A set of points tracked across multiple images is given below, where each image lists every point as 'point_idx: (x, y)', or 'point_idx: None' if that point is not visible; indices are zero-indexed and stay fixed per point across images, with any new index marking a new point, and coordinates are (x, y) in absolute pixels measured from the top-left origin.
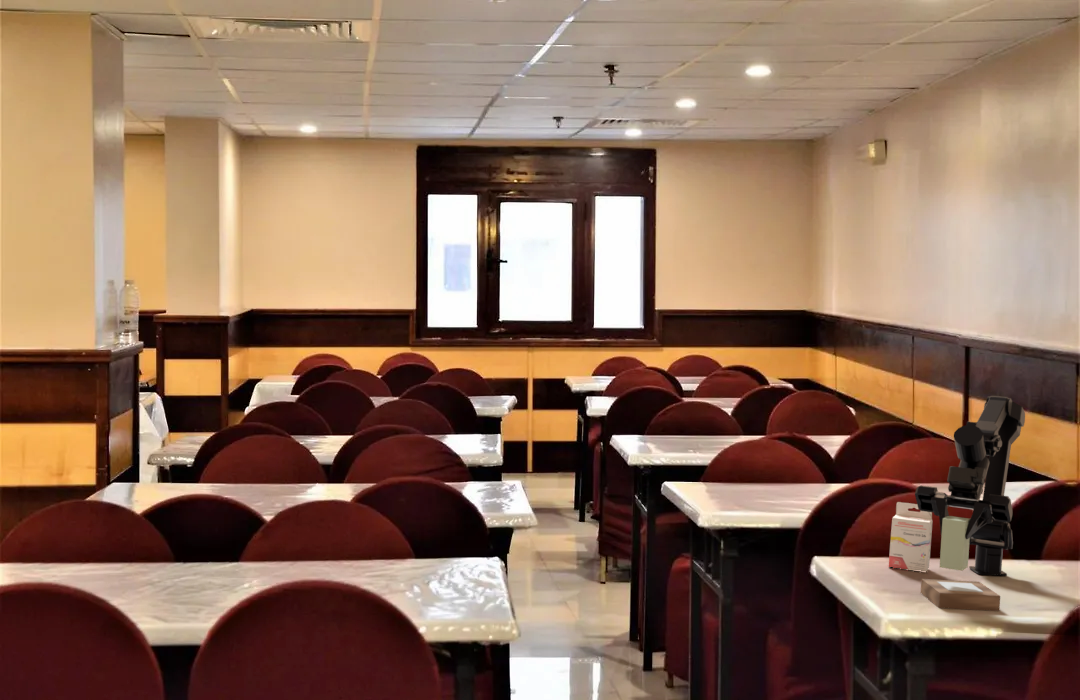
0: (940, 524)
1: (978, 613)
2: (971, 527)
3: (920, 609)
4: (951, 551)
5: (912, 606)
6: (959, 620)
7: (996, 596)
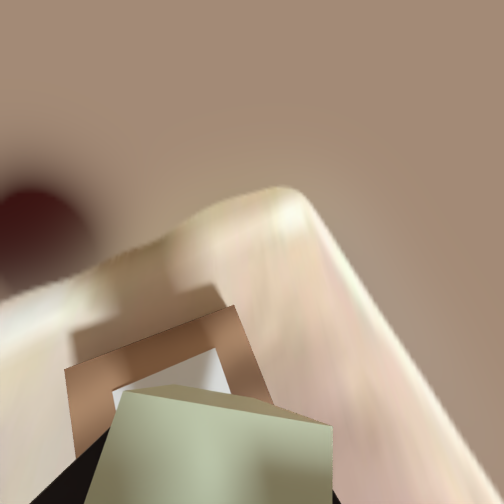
0: (333, 495)
1: (144, 312)
2: (68, 469)
3: (263, 280)
4: (219, 394)
5: (281, 296)
6: (188, 235)
7: (78, 364)
